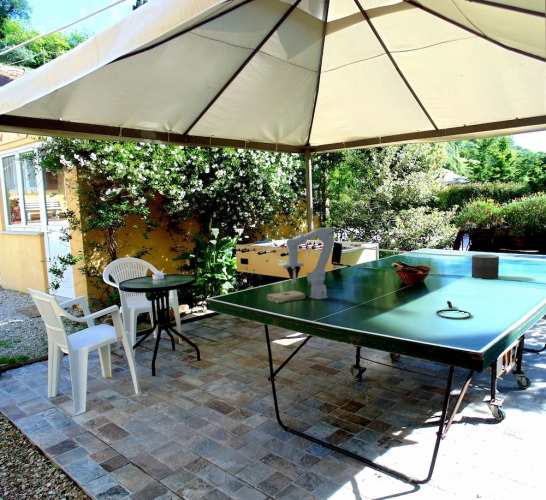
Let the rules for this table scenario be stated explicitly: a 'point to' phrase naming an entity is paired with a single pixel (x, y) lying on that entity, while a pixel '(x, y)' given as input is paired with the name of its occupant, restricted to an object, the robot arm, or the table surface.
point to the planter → (485, 266)
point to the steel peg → (294, 276)
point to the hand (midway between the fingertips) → (293, 278)
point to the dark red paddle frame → (451, 310)
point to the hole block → (285, 296)
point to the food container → (308, 279)
